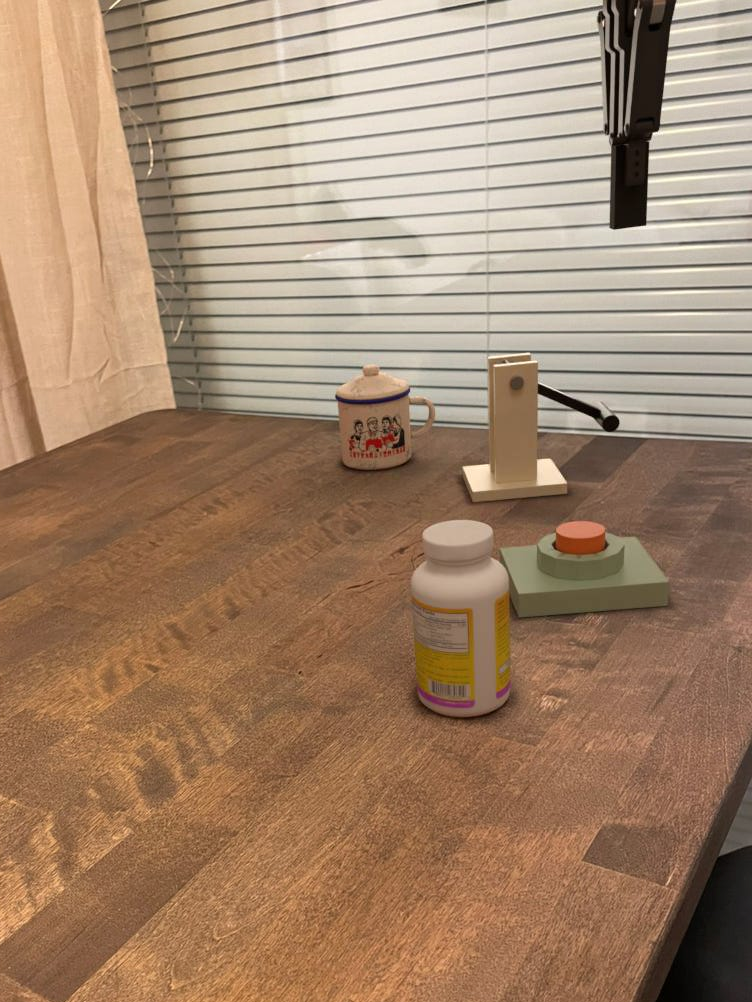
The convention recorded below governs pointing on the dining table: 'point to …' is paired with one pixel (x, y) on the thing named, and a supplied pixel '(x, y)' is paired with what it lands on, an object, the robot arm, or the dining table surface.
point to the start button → (580, 538)
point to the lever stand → (513, 437)
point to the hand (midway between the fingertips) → (627, 226)
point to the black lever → (581, 406)
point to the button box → (583, 578)
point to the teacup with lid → (377, 420)
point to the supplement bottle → (461, 621)
